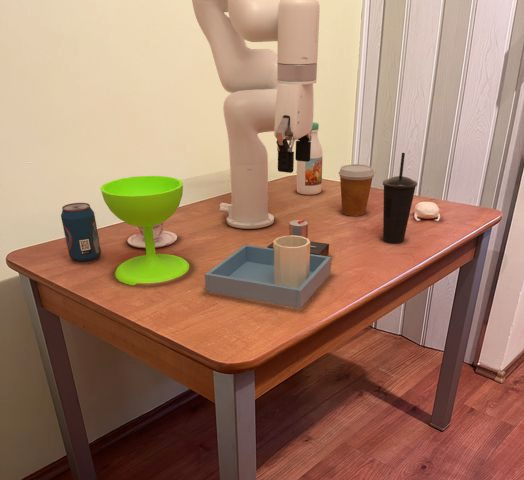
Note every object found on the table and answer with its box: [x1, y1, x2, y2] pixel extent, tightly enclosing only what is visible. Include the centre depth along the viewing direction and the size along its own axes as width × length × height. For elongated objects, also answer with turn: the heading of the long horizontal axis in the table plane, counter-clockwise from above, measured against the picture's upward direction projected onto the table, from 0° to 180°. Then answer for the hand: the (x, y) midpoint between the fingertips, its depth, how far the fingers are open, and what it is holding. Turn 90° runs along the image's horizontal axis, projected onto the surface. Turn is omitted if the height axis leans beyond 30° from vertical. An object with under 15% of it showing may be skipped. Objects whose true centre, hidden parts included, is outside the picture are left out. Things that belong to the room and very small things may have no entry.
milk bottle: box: [296, 121, 323, 196], centre depth 163 cm, size 8×8×20 cm
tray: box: [204, 244, 332, 309], centre depth 107 cm, size 20×18×4 cm
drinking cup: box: [382, 152, 418, 244], centre depth 124 cm, size 8×8×20 cm
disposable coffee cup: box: [338, 163, 376, 217], centre depth 145 cm, size 10×10×12 cm
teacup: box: [126, 222, 178, 249], centre depth 130 cm, size 12×12×6 cm
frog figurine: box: [413, 201, 441, 222], centre depth 143 cm, size 8×7×4 cm
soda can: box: [60, 202, 102, 265], centre depth 118 cm, size 7×7×12 cm
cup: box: [272, 235, 311, 288], centre depth 104 cm, size 7×7×9 cm
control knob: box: [288, 218, 309, 239], centre depth 117 cm, size 4×4×5 cm
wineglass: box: [99, 175, 190, 286], centre depth 110 cm, size 16×16×18 cm
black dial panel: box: [266, 240, 330, 256], centre depth 119 cm, size 12×8×3 cm
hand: (294, 166), depth 112 cm, fingers open, 9 cm apart
